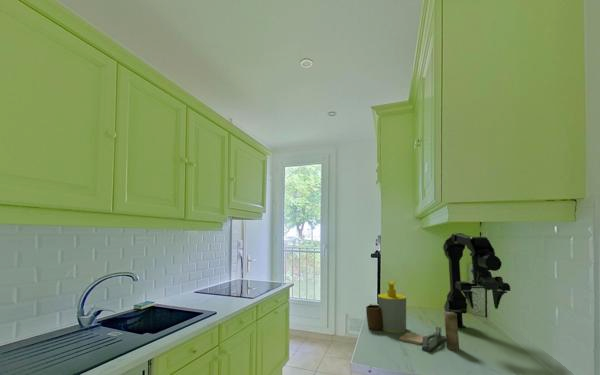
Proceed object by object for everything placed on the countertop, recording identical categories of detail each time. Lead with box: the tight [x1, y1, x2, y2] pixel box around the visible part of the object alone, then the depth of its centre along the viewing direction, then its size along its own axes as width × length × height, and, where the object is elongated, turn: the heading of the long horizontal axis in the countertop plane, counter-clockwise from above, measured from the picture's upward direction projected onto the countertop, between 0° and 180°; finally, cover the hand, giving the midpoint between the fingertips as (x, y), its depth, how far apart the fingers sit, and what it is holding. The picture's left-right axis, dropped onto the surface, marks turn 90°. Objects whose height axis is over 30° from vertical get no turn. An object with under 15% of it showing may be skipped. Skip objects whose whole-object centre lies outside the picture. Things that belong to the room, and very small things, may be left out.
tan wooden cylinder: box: [443, 311, 460, 352], centre depth 119 cm, size 4×4×13 cm
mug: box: [365, 304, 383, 331], centre depth 147 cm, size 12×8×9 cm, turn 1°
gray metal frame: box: [421, 326, 446, 353], centre depth 123 cm, size 19×3×4 cm, turn 139°
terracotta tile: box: [399, 332, 425, 346], centre depth 128 cm, size 9×9×1 cm
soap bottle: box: [377, 281, 407, 334], centre depth 145 cm, size 13×13×21 cm
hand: (484, 308), depth 121 cm, fingers open, 9 cm apart
